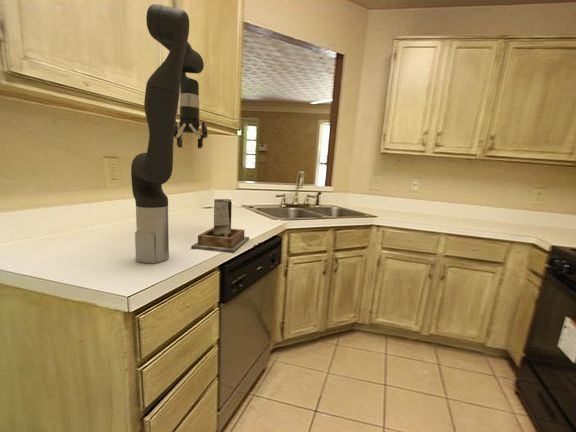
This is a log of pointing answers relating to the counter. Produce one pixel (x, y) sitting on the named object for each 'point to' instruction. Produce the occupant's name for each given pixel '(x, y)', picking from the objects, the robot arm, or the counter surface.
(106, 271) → the counter surface
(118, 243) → the counter surface
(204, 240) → the socket
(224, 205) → the coffee box
